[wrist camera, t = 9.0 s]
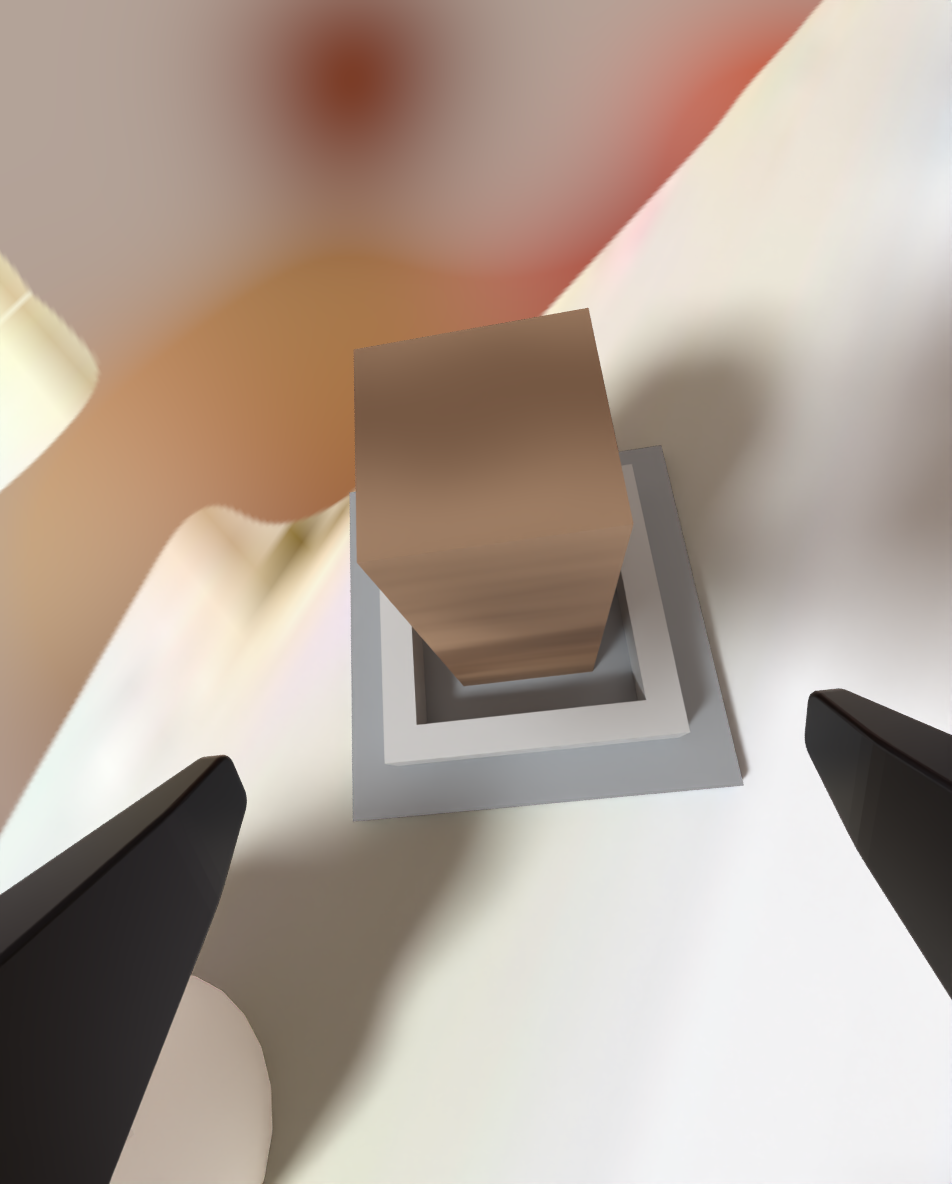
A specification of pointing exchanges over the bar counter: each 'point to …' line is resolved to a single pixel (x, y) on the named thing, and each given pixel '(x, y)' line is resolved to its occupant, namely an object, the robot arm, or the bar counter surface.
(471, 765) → the bay tray
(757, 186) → the bar counter surface
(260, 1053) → the cylinder with rectangular tab
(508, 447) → the tapered wooden block
